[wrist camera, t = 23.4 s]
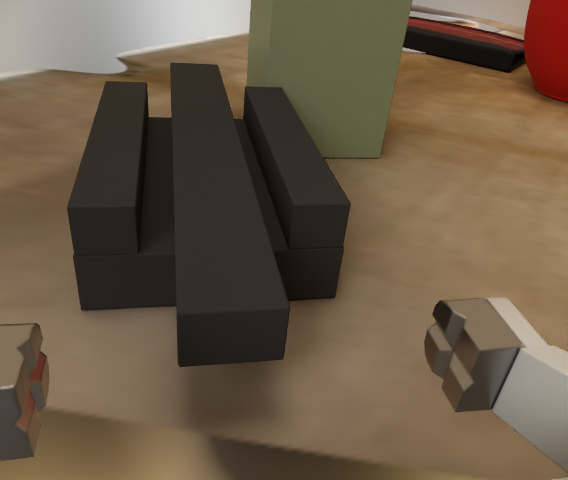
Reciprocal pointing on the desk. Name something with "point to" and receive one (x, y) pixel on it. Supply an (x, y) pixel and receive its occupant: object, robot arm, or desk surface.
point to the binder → (464, 43)
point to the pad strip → (219, 233)
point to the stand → (331, 66)
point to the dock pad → (160, 201)
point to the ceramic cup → (548, 46)
